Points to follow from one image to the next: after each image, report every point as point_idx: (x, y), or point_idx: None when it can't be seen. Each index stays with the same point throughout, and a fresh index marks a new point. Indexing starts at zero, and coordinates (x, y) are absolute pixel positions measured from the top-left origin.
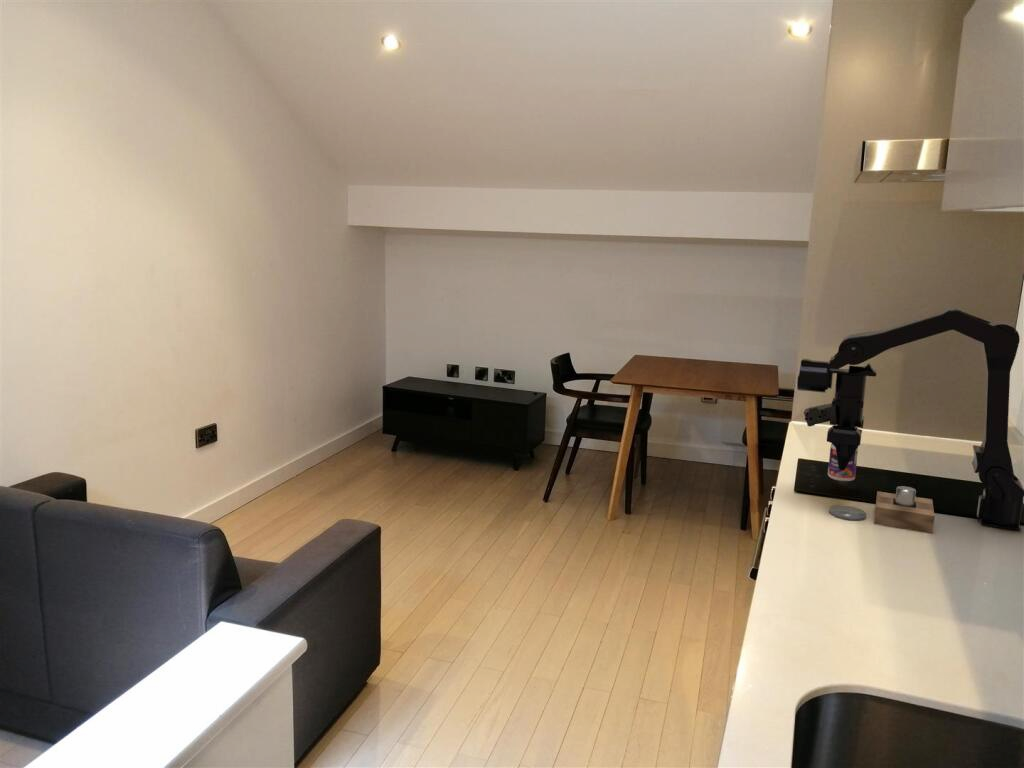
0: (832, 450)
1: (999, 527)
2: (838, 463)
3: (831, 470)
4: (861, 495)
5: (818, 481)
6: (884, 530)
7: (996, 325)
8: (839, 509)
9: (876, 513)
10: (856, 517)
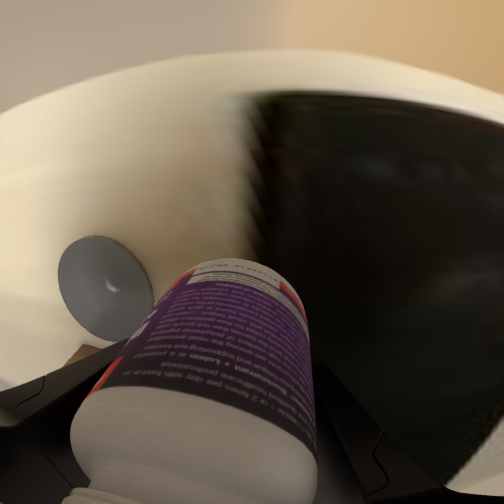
0: (105, 378)
1: None
2: (94, 354)
3: (169, 290)
4: (321, 346)
5: (443, 200)
6: (63, 354)
7: None
8: (99, 270)
9: (68, 362)
10: (70, 310)
